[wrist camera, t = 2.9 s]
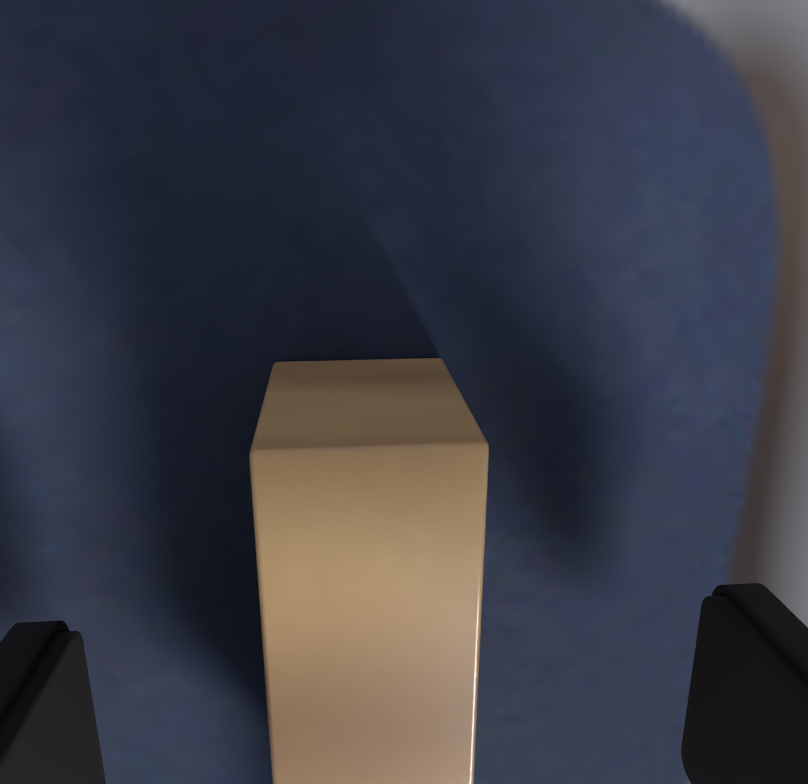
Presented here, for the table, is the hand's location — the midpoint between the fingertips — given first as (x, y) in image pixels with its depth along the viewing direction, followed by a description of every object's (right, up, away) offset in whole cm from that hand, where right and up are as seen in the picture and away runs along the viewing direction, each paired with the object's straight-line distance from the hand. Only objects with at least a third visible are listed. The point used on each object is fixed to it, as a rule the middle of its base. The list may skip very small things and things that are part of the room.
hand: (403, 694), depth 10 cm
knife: (-1, -2, +3) cm, 4 cm away
